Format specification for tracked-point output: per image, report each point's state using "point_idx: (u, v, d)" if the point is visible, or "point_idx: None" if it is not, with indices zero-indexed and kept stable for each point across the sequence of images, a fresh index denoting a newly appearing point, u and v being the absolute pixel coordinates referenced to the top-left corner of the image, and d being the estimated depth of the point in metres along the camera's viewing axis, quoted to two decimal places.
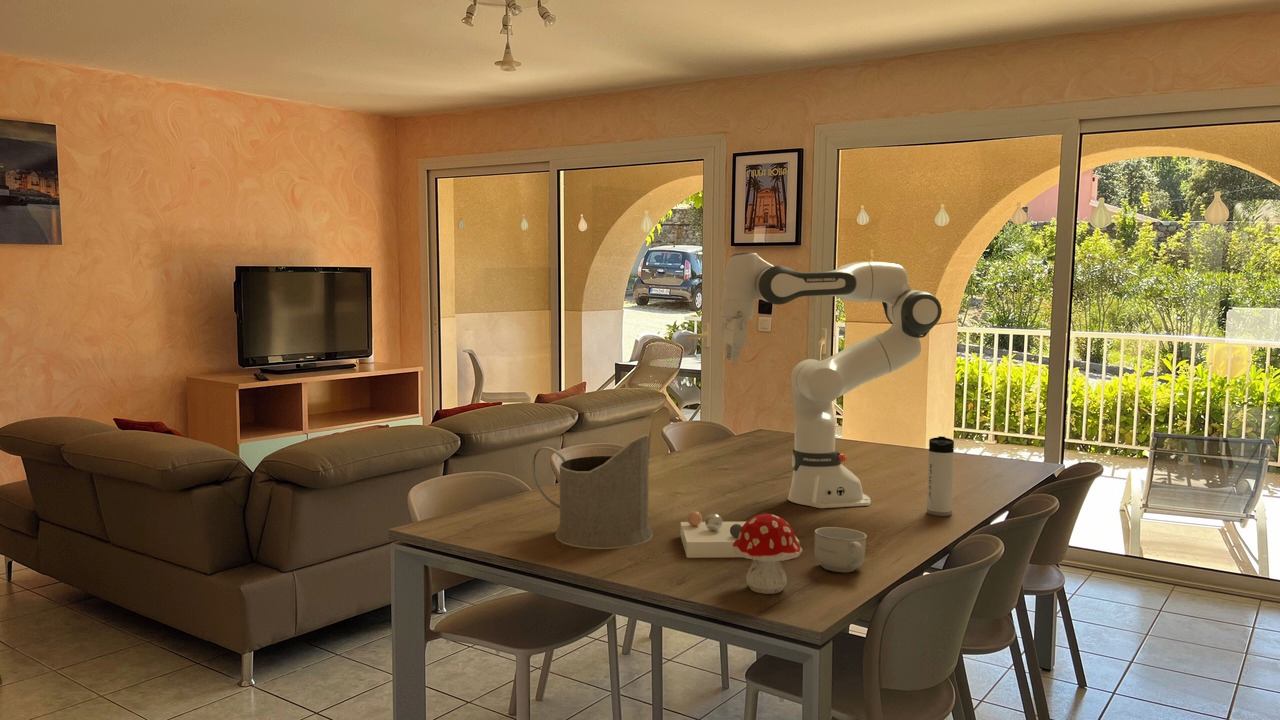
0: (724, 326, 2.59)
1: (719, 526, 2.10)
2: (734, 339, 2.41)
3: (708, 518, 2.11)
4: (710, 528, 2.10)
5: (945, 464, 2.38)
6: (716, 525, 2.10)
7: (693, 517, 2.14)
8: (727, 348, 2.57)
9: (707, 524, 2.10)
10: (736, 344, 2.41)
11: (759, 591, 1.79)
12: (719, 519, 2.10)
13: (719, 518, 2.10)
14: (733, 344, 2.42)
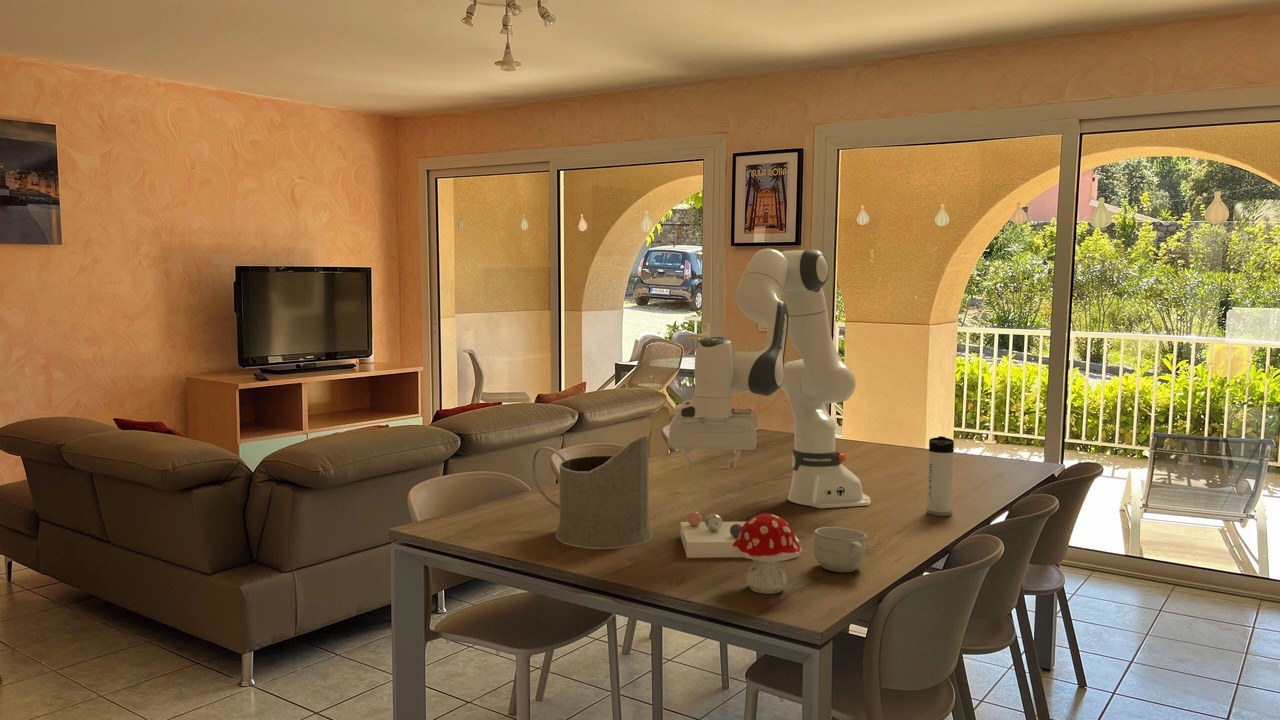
0: (679, 430, 2.08)
1: (719, 526, 2.10)
2: (756, 441, 2.09)
3: (708, 518, 2.11)
4: (710, 528, 2.10)
5: (945, 464, 2.38)
6: (716, 525, 2.10)
7: (693, 517, 2.14)
8: None
9: (707, 524, 2.10)
10: (755, 446, 2.10)
11: (759, 591, 1.79)
12: (719, 519, 2.10)
13: (719, 518, 2.10)
14: (754, 447, 2.09)
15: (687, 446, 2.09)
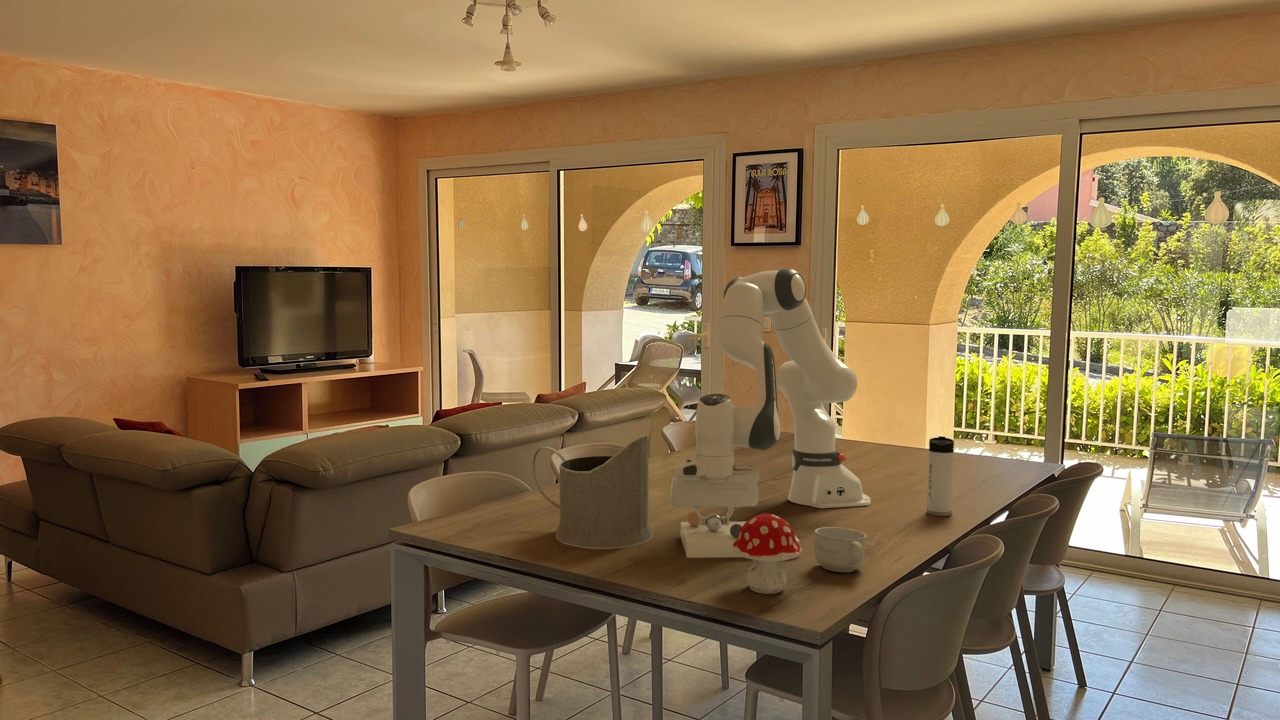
0: (681, 488, 2.09)
1: (719, 526, 2.10)
2: None
3: (708, 518, 2.11)
4: (710, 528, 2.10)
5: (946, 464, 2.38)
6: (716, 525, 2.10)
7: (693, 517, 2.14)
8: None
9: (707, 524, 2.10)
10: None
11: (759, 591, 1.79)
12: (719, 519, 2.10)
13: (719, 518, 2.10)
14: (756, 503, 2.10)
15: (689, 504, 2.09)
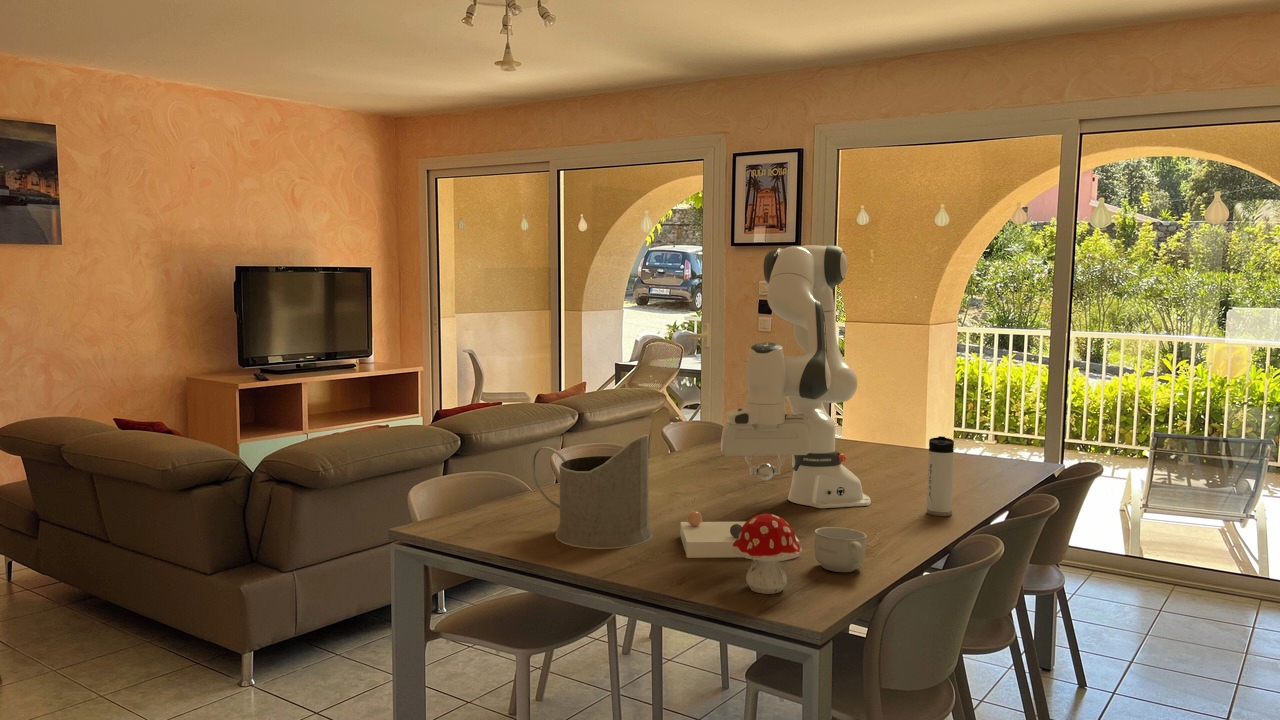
0: (732, 437, 2.08)
1: (771, 475, 2.09)
2: (809, 446, 2.09)
3: (759, 467, 2.10)
4: (762, 477, 2.09)
5: (945, 464, 2.38)
6: (768, 474, 2.09)
7: (693, 517, 2.14)
8: None
9: (758, 473, 2.09)
10: None
11: (759, 591, 1.79)
12: (771, 468, 2.09)
13: (770, 467, 2.10)
14: (808, 452, 2.09)
15: (741, 453, 2.08)
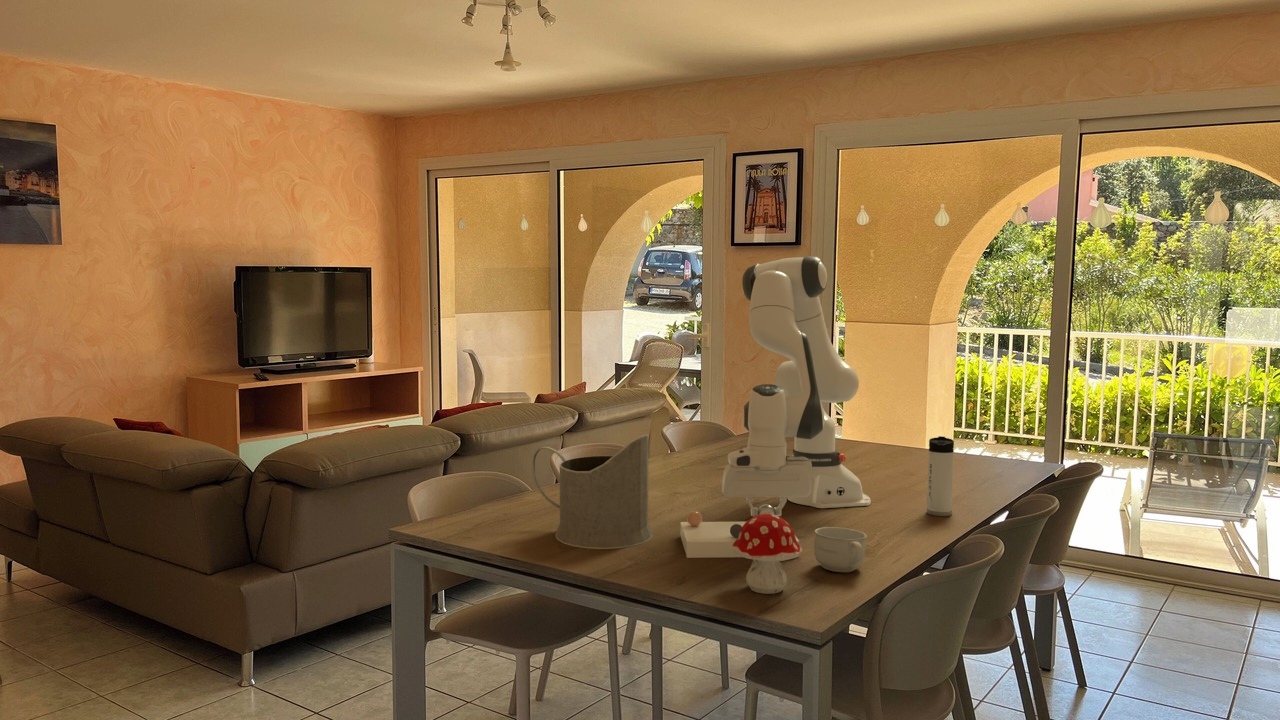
0: (733, 479, 2.08)
1: None
2: (810, 488, 2.10)
3: (761, 509, 2.10)
4: None
5: (945, 464, 2.38)
6: None
7: (693, 517, 2.14)
8: (751, 503, 2.10)
9: None
10: None
11: (759, 591, 1.79)
12: (772, 510, 2.10)
13: (772, 509, 2.10)
14: (809, 494, 2.10)
15: (742, 494, 2.09)
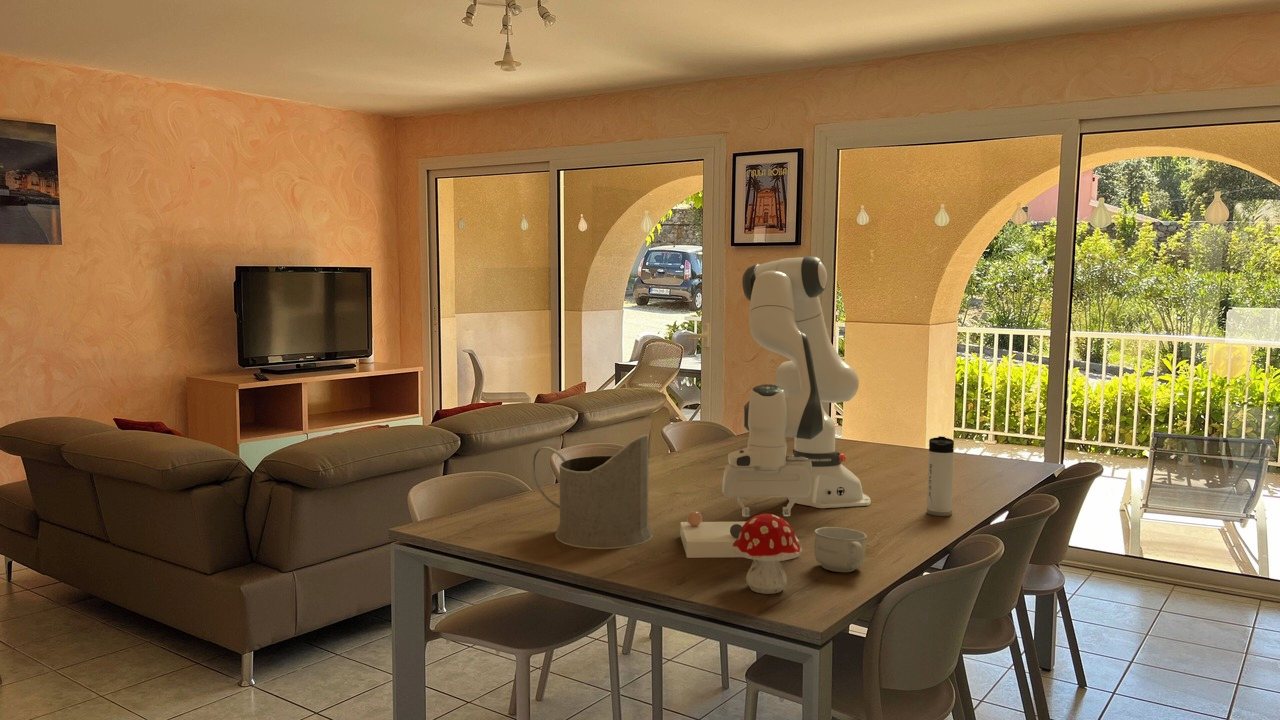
0: (734, 479, 2.08)
1: None
2: (810, 488, 2.10)
3: None
4: None
5: (945, 464, 2.38)
6: None
7: (693, 517, 2.14)
8: (742, 503, 2.10)
9: None
10: None
11: (759, 591, 1.79)
12: None
13: None
14: (809, 494, 2.10)
15: (742, 494, 2.09)
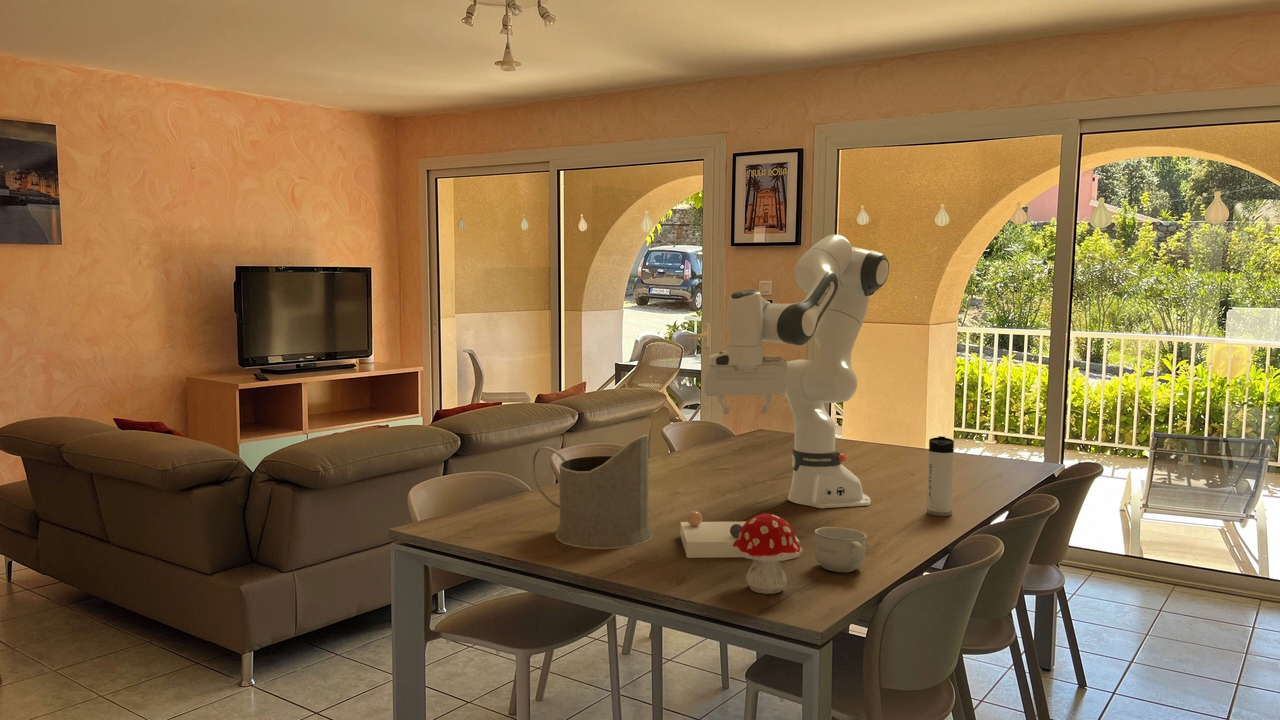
0: (713, 378, 2.22)
1: None
2: (786, 386, 2.23)
3: None
4: None
5: (945, 464, 2.38)
6: None
7: (693, 517, 2.14)
8: (722, 401, 2.23)
9: None
10: None
11: (759, 591, 1.79)
12: None
13: None
14: (784, 392, 2.23)
15: (722, 393, 2.22)
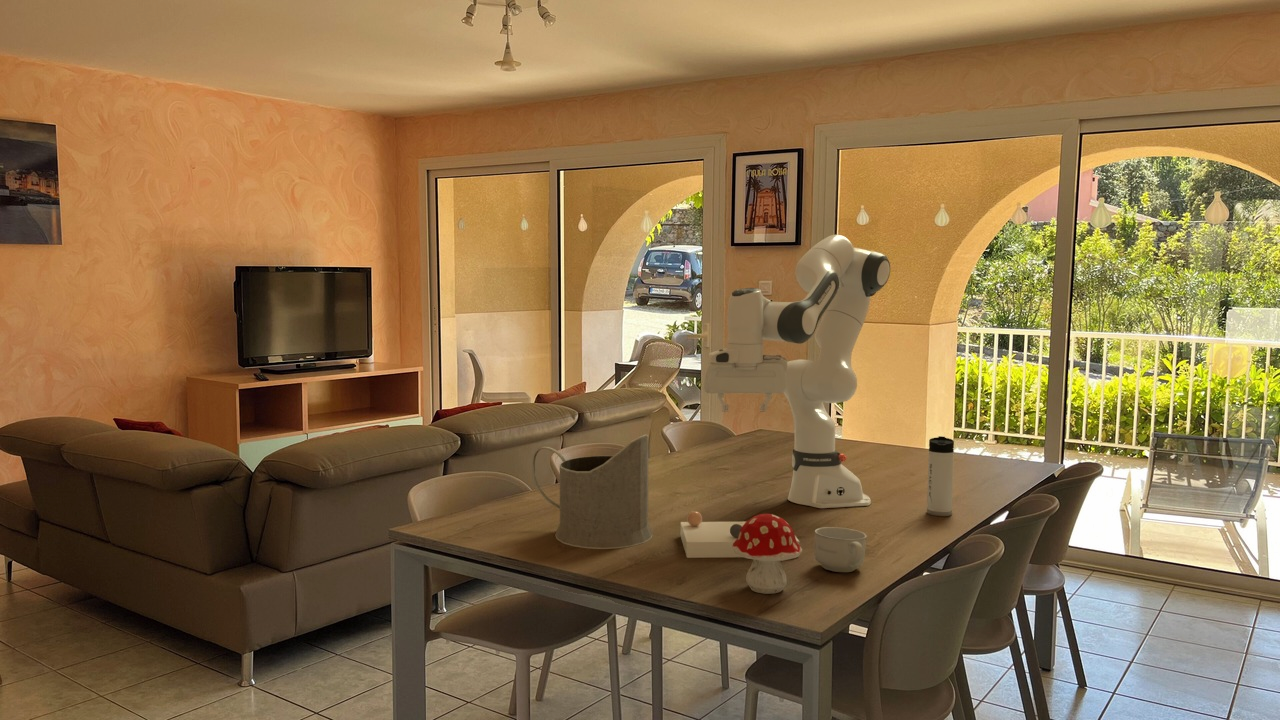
0: (713, 375, 2.22)
1: None
2: (786, 385, 2.23)
3: None
4: None
5: (945, 464, 2.38)
6: None
7: (693, 517, 2.14)
8: None
9: None
10: None
11: (759, 591, 1.79)
12: None
13: None
14: (784, 390, 2.23)
15: (721, 390, 2.22)
